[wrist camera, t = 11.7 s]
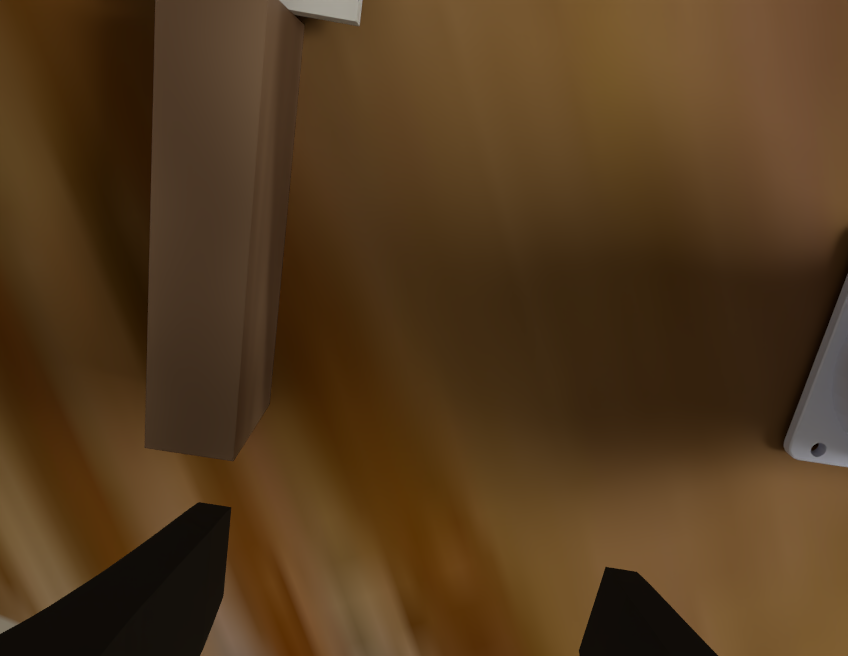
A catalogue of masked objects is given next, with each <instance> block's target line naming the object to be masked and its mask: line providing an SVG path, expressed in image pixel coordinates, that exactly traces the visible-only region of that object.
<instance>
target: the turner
mask: <svg viewBox="0 0 848 656" xmlns="http://www.w3.org/2000/svg"><path fill="white" fill-rule="evenodd" d="M362 1H363V0H155V36H154V79H153V121H152V163H151V205H150V247H149V289H148V331H147V373H146V415H145V448H149V449H155V450H162V451H169V452H175V453H182V454H189V455H196V456H202V457H209V458H216V459H222V460H229V461H234V459H235V458H236V456H237V455H238V453H239V451H240V450H241V448H242V447H243V445H244V444H245V442H246V440H247V439H248V437H249V436H250V434H251V433H252V431H253V429H254V428H255V426H256V425H257V423H258V422H259V420H260V418H261V417H262V415H263V414H264V412H265V411H266V409H267V407H268V406H269V404H270V395H271V384H272V373H273V362H274V351H275V340H276V330H277V319H278V308H279V297H280V286H281V276H282V265H283V254H284V243H285V232H286V222H287V211H288V200H289V189H290V178H291V168H292V157H293V146H294V135H295V124H296V114H297V103H298V92H299V81H300V70H301V60H302V49H303V38H304V27H305V25H304V24H303V23H302V22H301V21H300V20H299V19H298V18H297V17H296V16H295V15H299V16H304V17H310V18H315V19H321V20H327V21H332V22H338V23H344V24H349V25H355V26H360V18H361V9H362Z"/></svg>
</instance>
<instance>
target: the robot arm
mask: <svg viewBox="0 0 848 656" xmlns="http://www.w3.org/2000/svg"><path fill="white" fill-rule="evenodd" d="M817 443H819V446H818V447H817V448H816V449H815V450H813V451H811V448H812V447H813V445H815V444H817ZM783 446H784V449H785V451H786V452H787V453H788V454H789V455H790V456H792V457H793V458H794V459H797V460H802V461H809V462H816V463H822V464H829V465H836V466H842V467H848V274H847V277H846V280H845V282H844V285H843V287H842V290H841V293H840V295H839V298H838V301H837V303H836V306H835V308H834V311H833V314H832V316H831V319H830V322H829V324H828V327H827V330H826V332H825V335H824V337H823V340H822V343H821V345H820V348H819V351H818V353H817V356H816V358H815V361H814V364H813V366H812V369H811V372H810V374H809V377H808V380H807V382H806V385H805V387H804V390H803V393H802V395H801V398H800V401H799V403H798V406H797V409H796V411H795V414H794V416H793V419H792V422H791V424H790V427H789V430H788V432H787V435H786V437H785V440H784V445H783ZM230 515H231V507H226V506H219V505H213V504H207V503H200V502H199V503H197V504H196V505H194V506H193V507H191V508H190V509H188V510H187V511H186V512H184V513H183V514H182V515H180V516H179V517H178V518H176V519H175V520H174V521H172V522H171V523H170V524H168V525H167V526H166V527H164V528H163V529H162V530H160V531H159V532H158V533H156V534H155V535H154V536H152V537H151V538H149V539H148V540H147V541H145V542H144V543H143V544H141V545H140V546H139V547H137V548H136V549H134V550H133V551H132V552H130V553H129V554H127V555H126V556H124V557H123V558H122V559H120V560H119V561H117V562H116V563H115V564H113V565H112V566H110V567H109V568H107V569H106V570H105V571H103V572H102V573H100V574H99V575H97V576H96V577H94V578H93V579H91V580H89V581H88V582H86V583H85V584H83V585H82V586H80V587H79V588H77V589H76V590H74V591H72V592H71V593H69V594H68V595H66V596H65V597H63V598H62V599H60V600H58V601H57V602H55V603H54V604H52V605H51V606H49V607H47V608H46V609H44V610H42V611H41V612H39V613H37V614H36V615H34V616H32V617H30V618H29V619H27V620H25V621H23V622H22V623H20V624H18V625H16V626H14V627H12V628H11V629H9V630H7V631H5V632H3V633H1V634H0V656H200V654H201V652H202V650H203V648H204V645H205V643H206V640H207V638H208V635H209V633H210V630H211V627H212V625H213V622H214V620H215V617H216V614H217V612H218V609H219V606H220V604H221V601H222V598H223V594H224V583H225V572H226V560H227V549H228V538H229V527H230ZM579 654H580V656H718V655H717V654H716V653H715V652H714V651H713V650H712V649H711V648H710V647H709V646H708V645H707V644H706V643H705V642H704V641H703V640H702V639H701V638H700V637H699V635H698V634H697V633H696V632H695V631H694V630H693V629H692V628H691V627H690V626H689V625H688V624H687V623H686V622H685V621H684V620H683V619H682V618H681V617H680V616H679V614H678V613H677V612H676V611H675V610H674V609H673V608H672V607H671V606H670V605H669V604H668V603H667V602H666V601H665V600H664V599H663V598H662V597H661V595H660V594H659V593H658V592H657V591H656V590H655V589H654V588H653V587H652V586H651V585H650V584H649V583H648V582H647V581H646V580H645V579H644V578H643V577H642V576H641V575H640V574H639V573H637V572H634V571H628V570H622V569H615V568H609V567H606V568H605V571H604V574H603V577H602V580H601V583H600V587H599V590H598V593H597V596H596V599H595V602H594V605H593V608H592V611H591V615H590V618H589V621H588V624H587V627H586V630H585V633H584V636H583V639H582V643H581V646H580V649H579Z"/></svg>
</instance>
